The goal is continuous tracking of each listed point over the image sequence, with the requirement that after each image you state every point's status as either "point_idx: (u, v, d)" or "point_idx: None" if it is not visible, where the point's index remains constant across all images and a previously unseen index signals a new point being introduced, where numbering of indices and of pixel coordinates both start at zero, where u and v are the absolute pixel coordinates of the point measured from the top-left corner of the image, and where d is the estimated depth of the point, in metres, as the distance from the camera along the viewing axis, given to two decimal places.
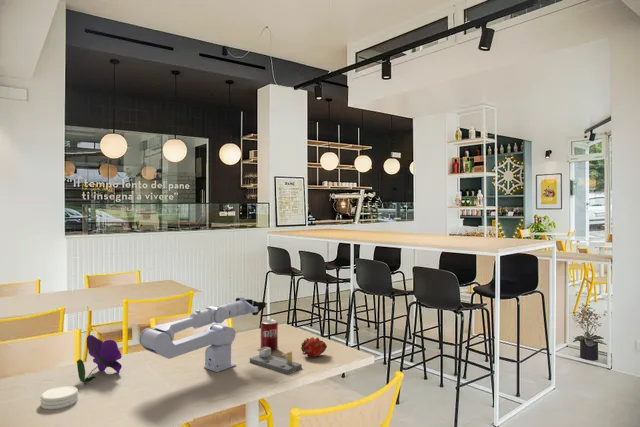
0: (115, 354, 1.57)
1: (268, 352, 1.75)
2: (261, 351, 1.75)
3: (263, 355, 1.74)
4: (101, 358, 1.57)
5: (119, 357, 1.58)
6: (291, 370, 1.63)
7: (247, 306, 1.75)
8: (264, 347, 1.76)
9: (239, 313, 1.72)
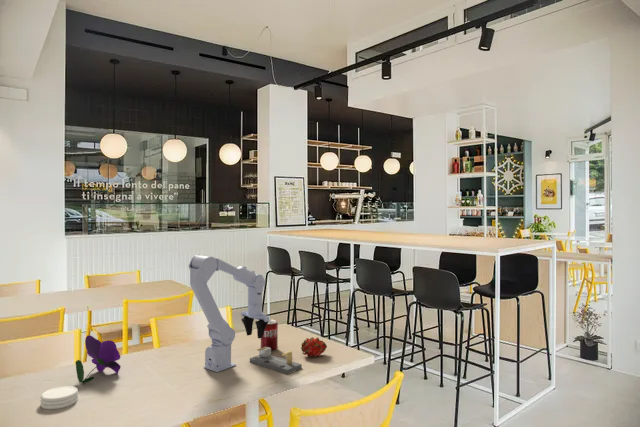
0: (114, 355, 1.57)
1: (268, 352, 1.75)
2: (261, 351, 1.75)
3: (263, 355, 1.74)
4: (100, 359, 1.57)
5: (118, 358, 1.57)
6: (291, 370, 1.63)
7: (261, 315, 1.79)
8: (264, 347, 1.76)
9: (257, 306, 1.77)
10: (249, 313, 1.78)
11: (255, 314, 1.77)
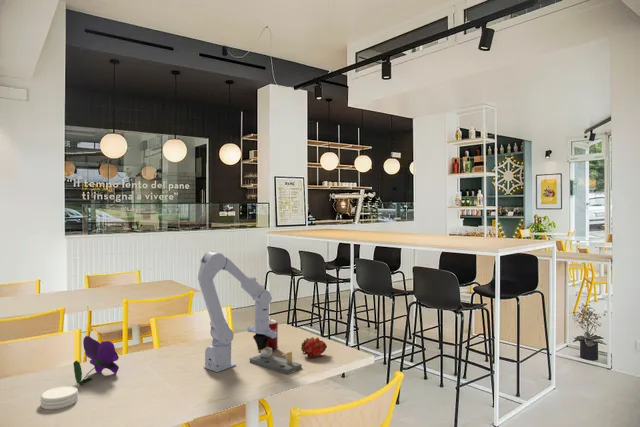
0: (112, 355, 1.56)
1: (269, 352, 1.75)
2: (262, 351, 1.75)
3: (264, 355, 1.74)
4: (98, 360, 1.56)
5: (116, 358, 1.56)
6: (291, 370, 1.63)
7: (268, 331, 1.76)
8: (265, 347, 1.75)
9: (264, 322, 1.75)
10: (256, 329, 1.75)
11: (262, 330, 1.75)
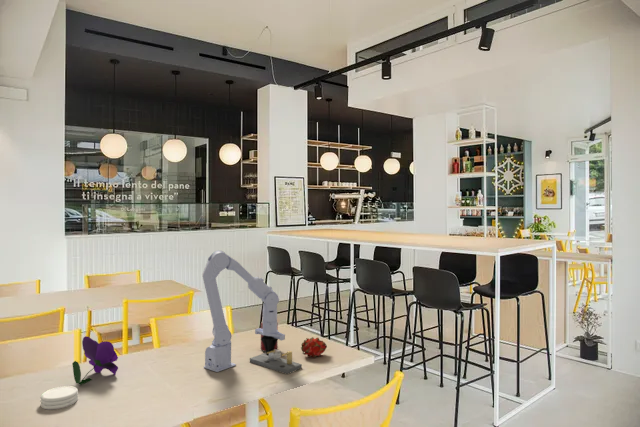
0: (111, 356, 1.56)
1: (277, 354, 1.72)
2: (270, 354, 1.72)
3: (273, 358, 1.71)
4: (97, 360, 1.56)
5: (115, 359, 1.56)
6: (291, 370, 1.63)
7: (276, 333, 1.74)
8: (273, 350, 1.73)
9: (272, 324, 1.72)
10: (264, 331, 1.73)
11: (270, 332, 1.72)
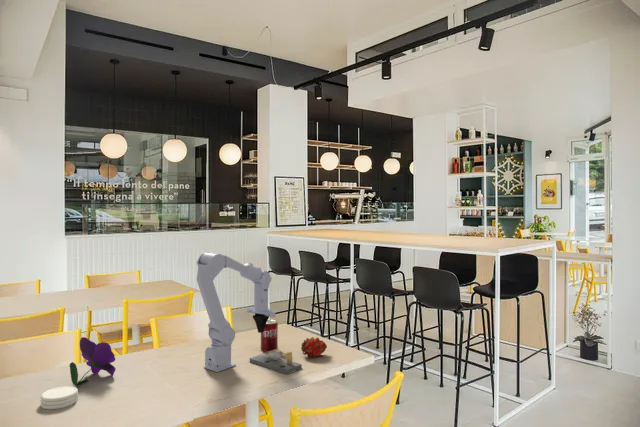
0: (109, 357, 1.55)
1: (277, 354, 1.72)
2: (271, 354, 1.72)
3: (273, 358, 1.71)
4: (94, 361, 1.55)
5: (113, 360, 1.55)
6: (291, 370, 1.63)
7: (267, 311, 1.81)
8: (274, 350, 1.73)
9: (263, 302, 1.80)
10: (255, 309, 1.81)
11: (261, 310, 1.80)
